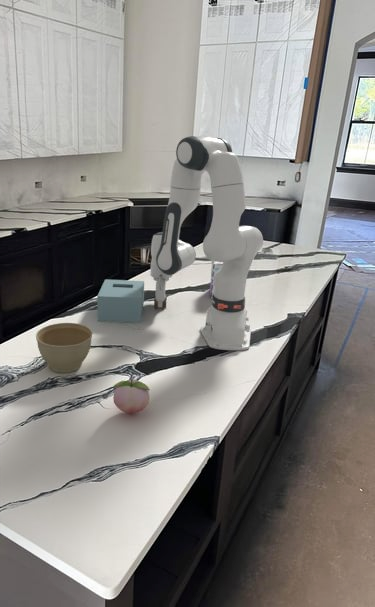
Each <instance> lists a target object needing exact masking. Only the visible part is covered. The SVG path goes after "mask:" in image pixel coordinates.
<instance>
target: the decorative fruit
mask: <svg viewBox="0 0 375 607" xmlns="http://www.w3.org/2000/svg"><path fill="white" fill-rule="evenodd" d="M113 387H114V388H115V390H114V393H113V396H112V397H113V403H114V405H115V406H116V408H117V409H118V410H120V411H121V412H122V413H126V414H137V413H139V412H141V411H143V410H144V409H145V408H147V406H148V405H149V402H150V392H149V391H151V389H150V388H149V386H148V385H147V384H146V383H144V382H142V381H140V380H136V379H132V378H131V379H128V380H121V381H118V382H116V383H115V384H114V385H113Z"/></svg>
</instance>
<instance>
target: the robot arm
mask: <svg viewBox="0 0 375 607" xmlns="http://www.w3.org/2000/svg"><path fill="white" fill-rule="evenodd" d="M175 152H176V153H175V155H176V159H175V160H174V163H173V167H172V171H171V176H170V177H171V179H170V192H169V198H168V204H167V207H166V210H165V214H164V219H163V224H162V226H163V227H162V231H161V232H160V231H159V232H156V233H154V234H153V235H152V238H151V246H150V255H151V262H150V277H152V280H153V281H155V295H154V296H155V299H156V301H158V307H162V303H163V301H164V300H165V297H166V285H167V282H168V281H169V280H170V278H172V277H173V275H175V274H176V273H179V272H180V271H181V270H184V269H185V268H187V267H190V266H191V265H193V264H194V263H195V261H196V258H197V254H196V253H197V252H196V250H195V248H194V246H193V245H191V243H188V242H184V241H182V239H180V233H181V227H182V224H183V222H184V221H185V219H186V218H187V217H188V216H189V215H190V214H192V212H193V211H194V210H195V209H196V208H197V207H198V206H199V202H200V198H201V186H202V177H203V174H204V173H205V172H207V174H208V176H209V180H210V181H209V182H210V190H211V199H212V220H211V224H210V225H211V226H210V228H209V231H208V232H207V235H205V237H204V238H203V243H202V250H203V254H204V256H205V257H206V258H207V259H208V260H209V261H211V262H212V261H214V262H223V264H222V266H221V267H220V269H219V270H218V271H217V273H216V275H215V284H214V294H213V295H212V299H211V306H210V307H208V308H207V309H206V316H205V317H206V318H205V324H204V325H203V326H201V327H200V329H199V330H200V333H201V335H202V336H203V338H204V340H205V341H206V343H207V344H208V346H209V348H211V349H215V350H223V351H245V350H249V349H250V346H251V345H250V343H251V335H252V334H251V333H252V331H251V330H252V329H251V324H249V323H247V322H249V318H250V317H248V310H246V308H245V306H246V297H245V292H246V285H247V279H248V275H249V272H250V268H251V266H252V264H253V262H254V258H255V256H256V255H257V253H259V251H260V250H261V249H262V246H263V245H264V237H263V234H262V232H261V231H260V230H259V229H258V228H257V227H255V226H251V225H240V222H241V216H242V214H243V213H244V211H245V210H246V207H247V203H246V193H245V192H246V191H245V184H244V176H243V172H242V167H241V163H240V161H239V157H238V155H236V154H235V153H234V152H233V148H232V145H231V144H230V143H229V142H228V141H227V140H226V139H223V138H220V137H211V136H208V135H207V136H206V135H197V136H194V135H190V136H186V137H184V138H181V140H179V142H178V144H177V146H176V150H175Z"/></svg>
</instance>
